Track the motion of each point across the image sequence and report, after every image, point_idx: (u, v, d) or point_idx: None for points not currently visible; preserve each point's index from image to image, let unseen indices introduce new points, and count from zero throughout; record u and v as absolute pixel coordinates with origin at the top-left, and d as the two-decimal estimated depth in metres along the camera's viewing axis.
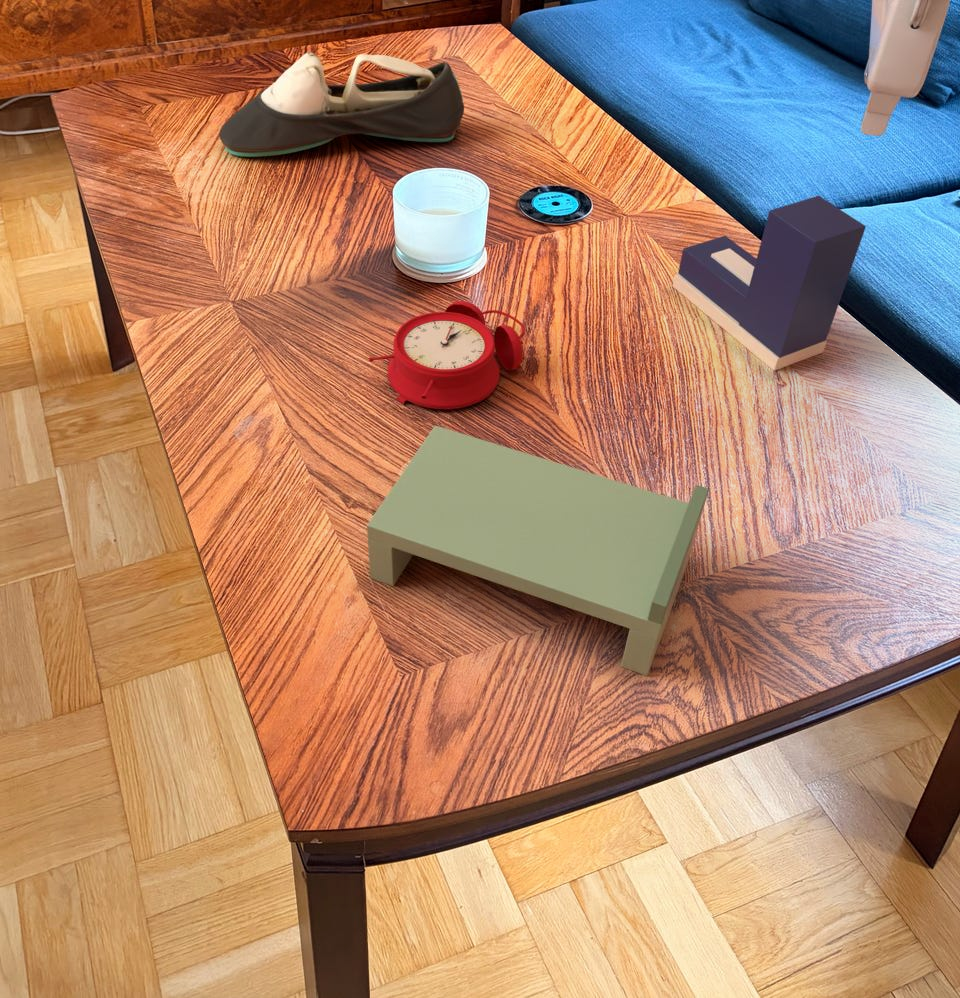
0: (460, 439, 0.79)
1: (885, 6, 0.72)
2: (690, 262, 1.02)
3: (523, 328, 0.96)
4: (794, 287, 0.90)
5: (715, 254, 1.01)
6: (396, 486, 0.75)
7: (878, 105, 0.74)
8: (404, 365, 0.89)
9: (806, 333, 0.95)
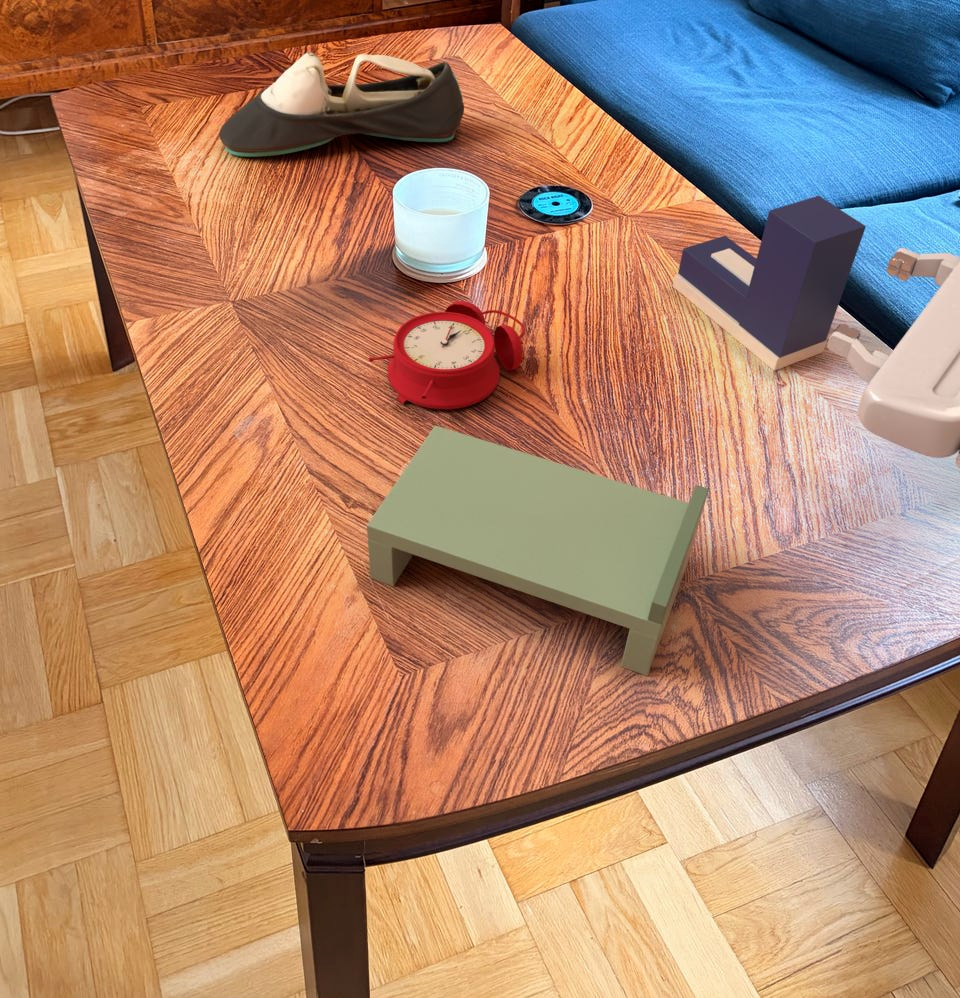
0: (460, 439, 0.79)
1: None
2: (689, 262, 1.02)
3: (523, 328, 0.96)
4: (794, 287, 0.90)
5: (715, 254, 1.01)
6: (396, 486, 0.75)
7: None
8: (404, 365, 0.89)
9: (806, 333, 0.95)
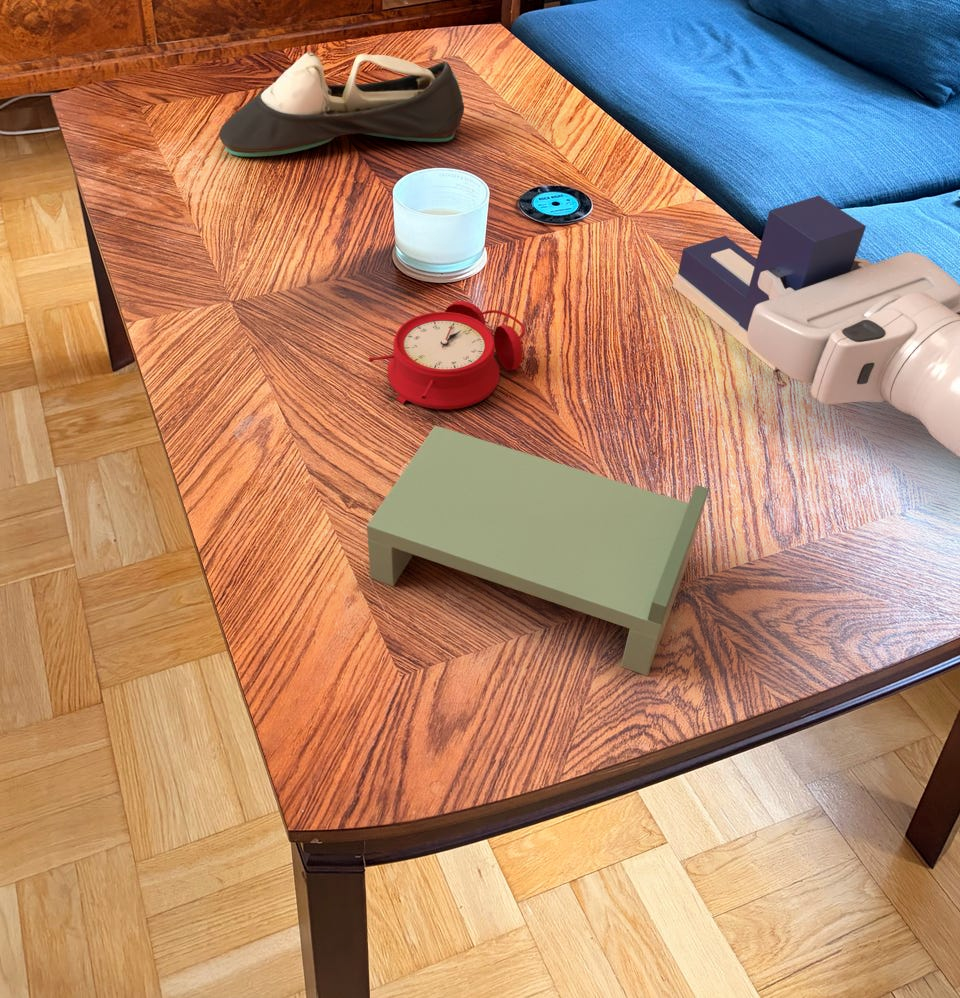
0: (460, 439, 0.79)
1: None
2: (690, 262, 1.02)
3: (523, 328, 0.96)
4: (794, 287, 0.90)
5: (715, 254, 1.01)
6: (396, 486, 0.75)
7: None
8: (404, 365, 0.89)
9: None
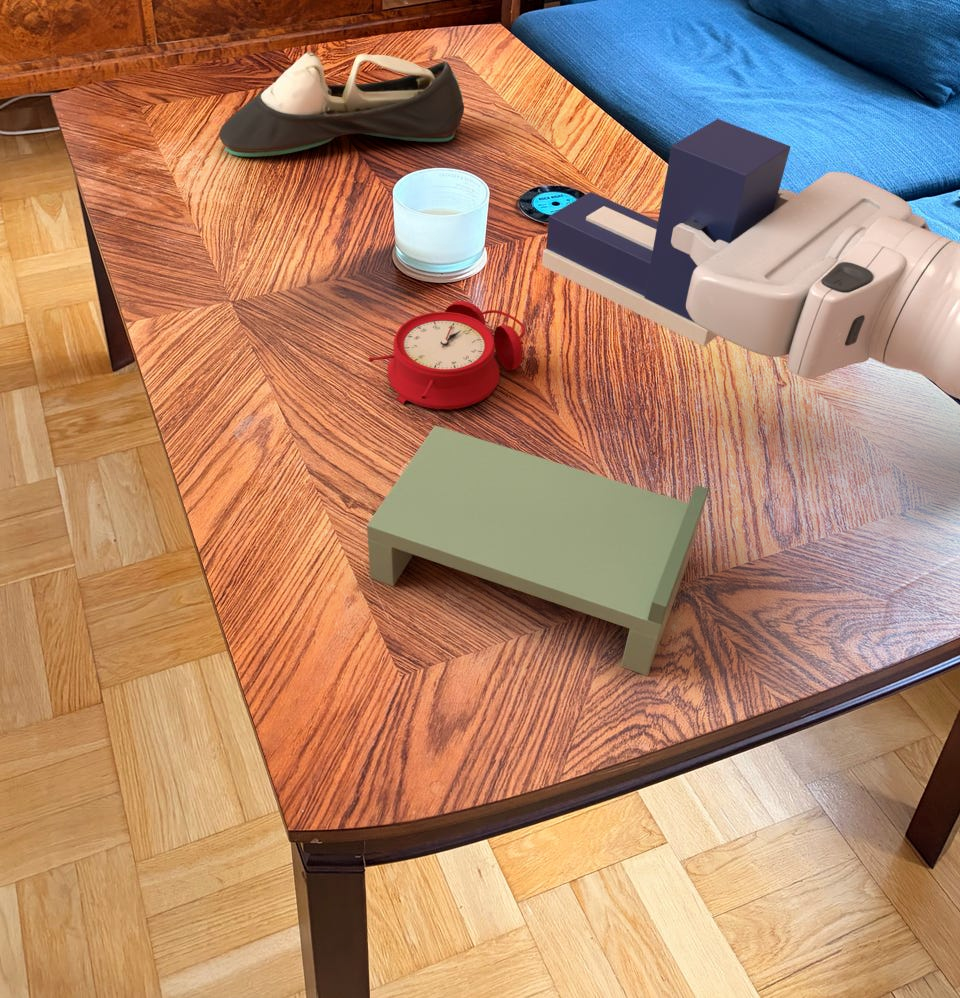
0: (460, 439, 0.79)
1: None
2: (561, 231, 0.80)
3: (523, 328, 0.96)
4: (720, 238, 0.70)
5: (591, 216, 0.80)
6: (396, 486, 0.75)
7: None
8: (404, 365, 0.89)
9: None
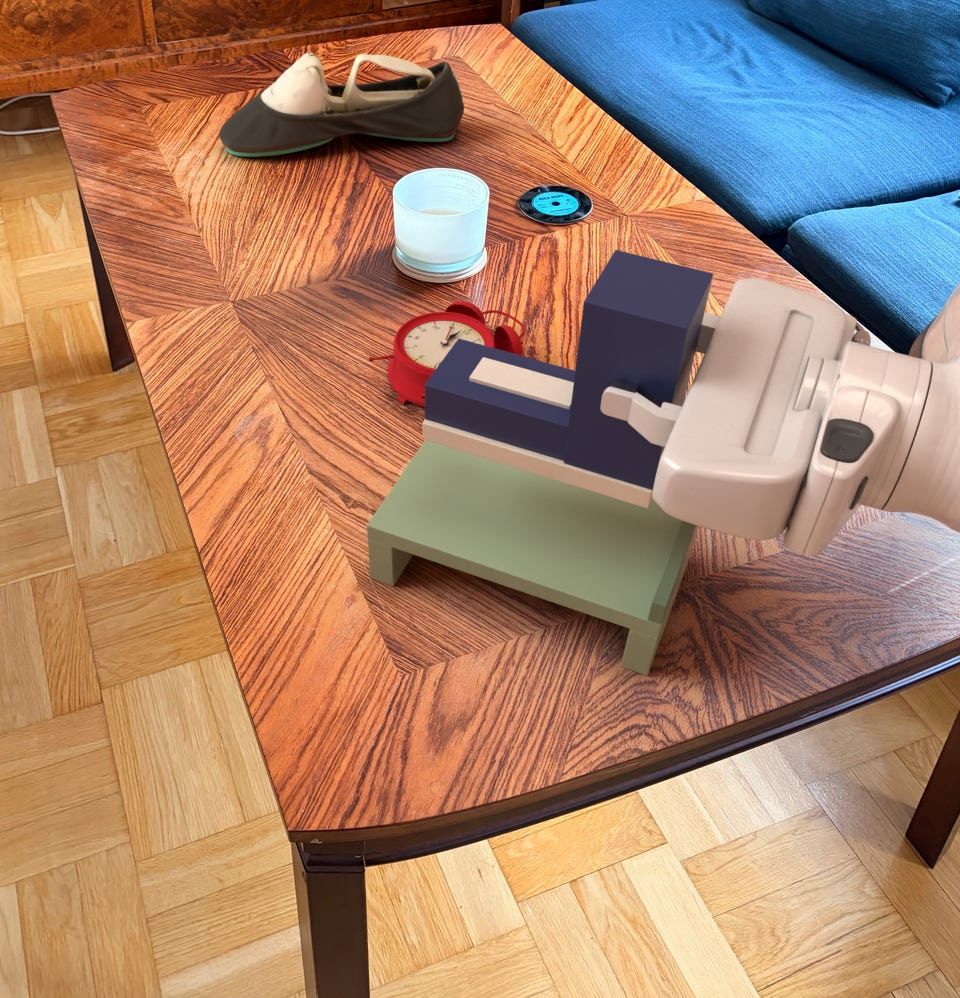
0: None
1: None
2: (443, 400, 0.66)
3: (523, 328, 0.96)
4: (659, 396, 0.58)
5: (475, 375, 0.66)
6: (396, 486, 0.75)
7: None
8: (404, 365, 0.89)
9: None
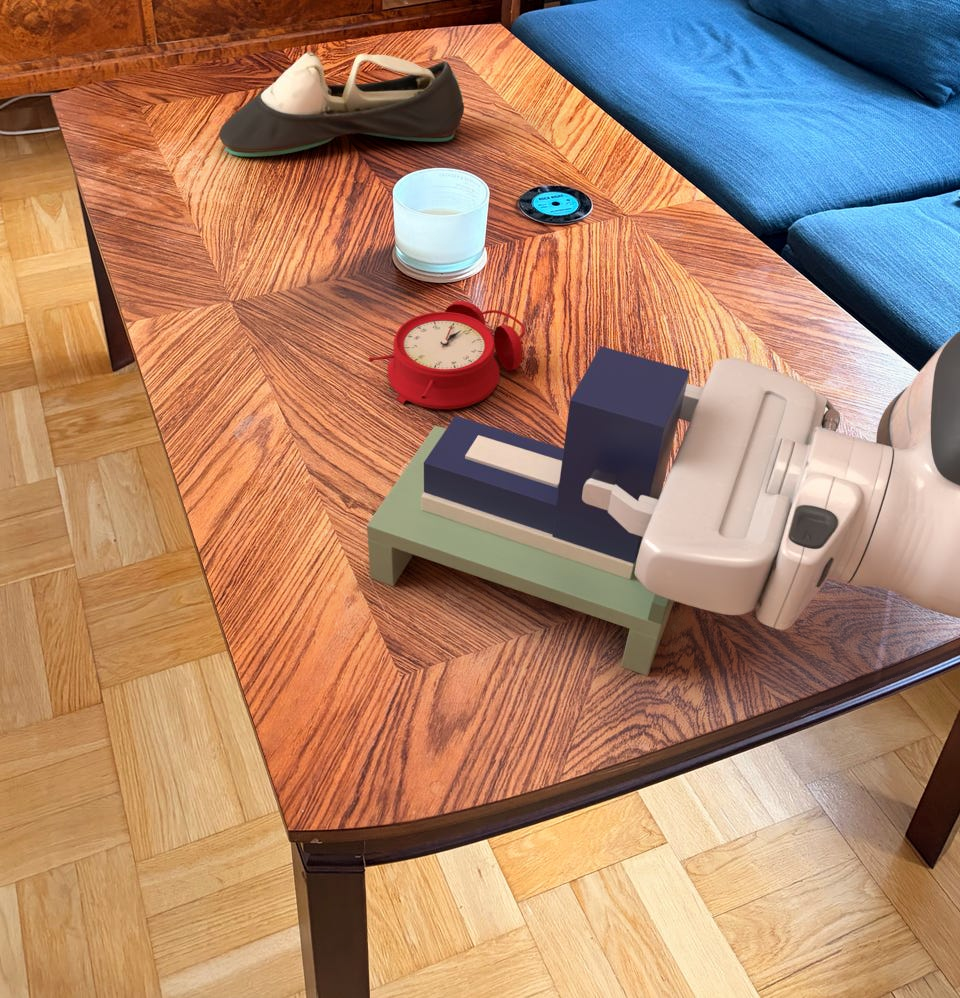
0: None
1: None
2: (441, 476, 0.71)
3: (523, 328, 0.96)
4: (639, 483, 0.63)
5: (470, 453, 0.71)
6: (396, 486, 0.75)
7: None
8: (404, 365, 0.89)
9: None
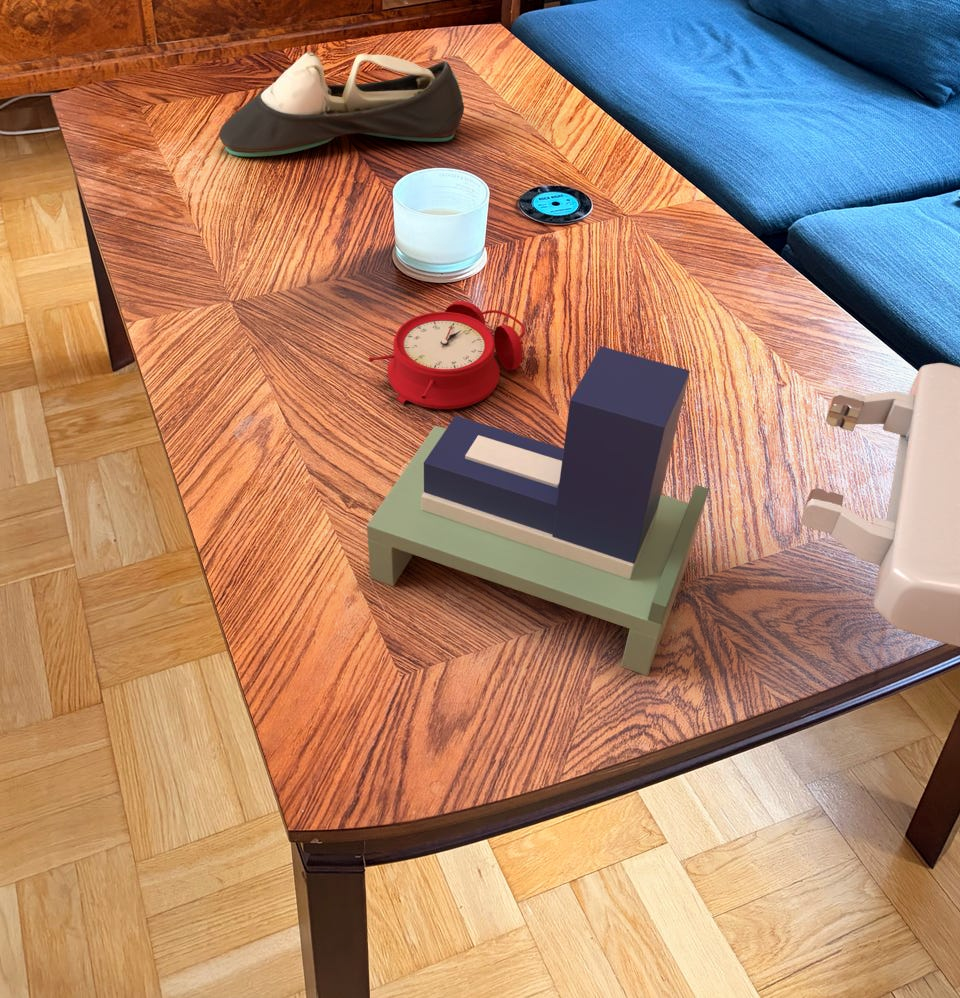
0: None
1: None
2: (441, 476, 0.71)
3: (523, 328, 0.96)
4: (639, 483, 0.63)
5: (470, 453, 0.71)
6: (396, 486, 0.75)
7: None
8: (404, 365, 0.89)
9: (649, 518, 0.69)
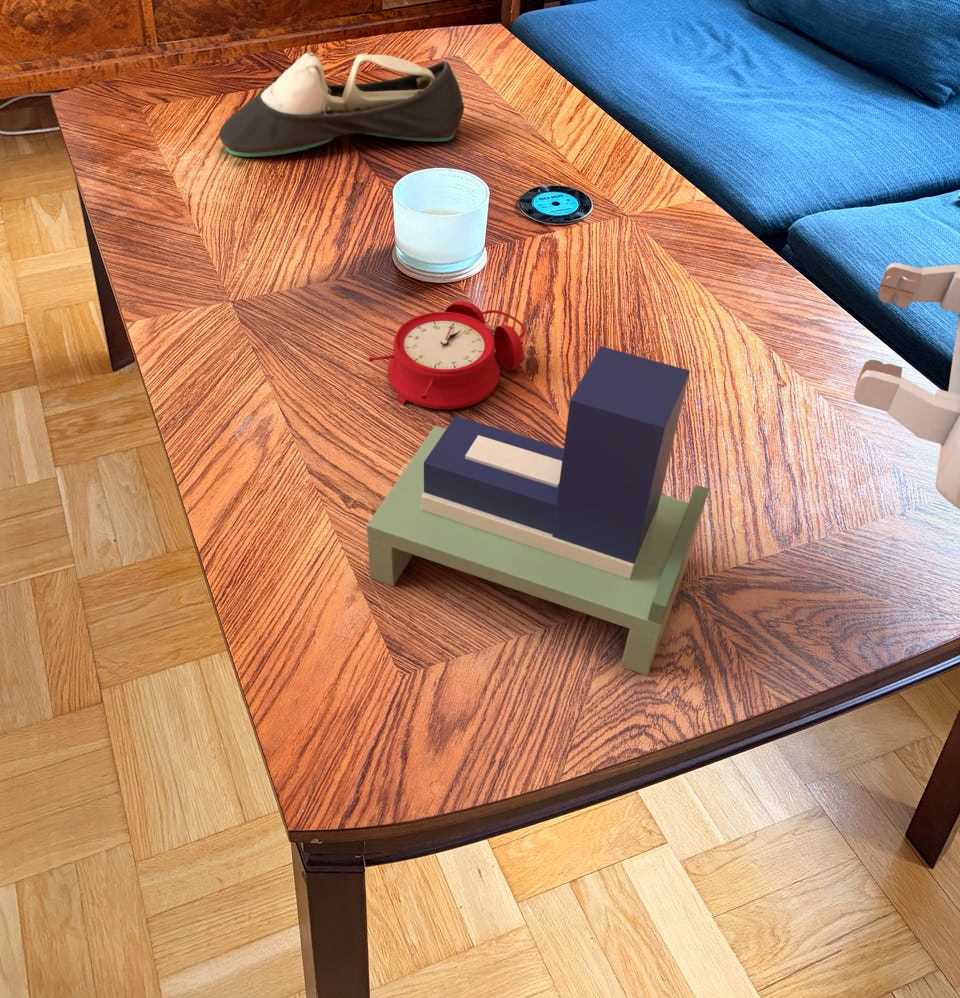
0: None
1: None
2: (441, 476, 0.71)
3: (523, 328, 0.96)
4: (639, 483, 0.63)
5: (470, 453, 0.71)
6: (396, 486, 0.75)
7: None
8: (404, 365, 0.89)
9: (649, 518, 0.69)
